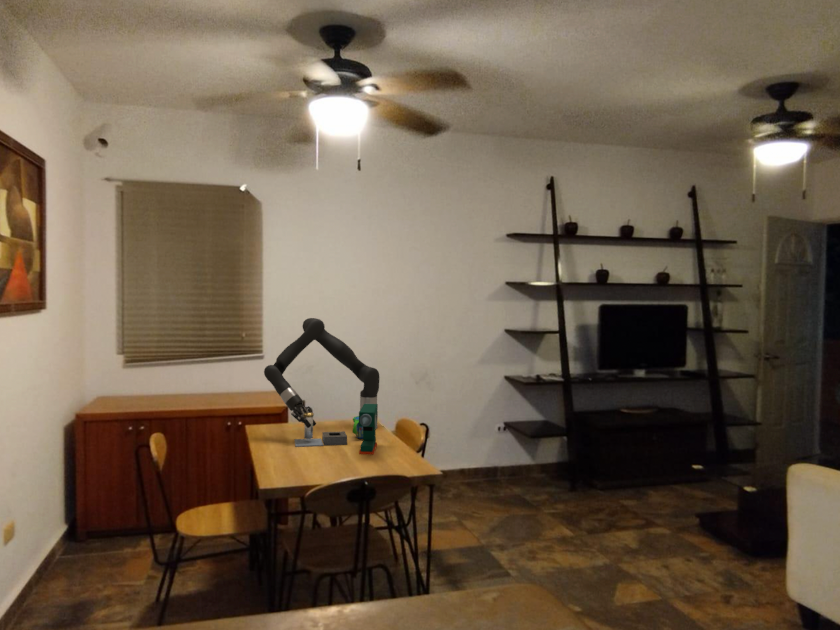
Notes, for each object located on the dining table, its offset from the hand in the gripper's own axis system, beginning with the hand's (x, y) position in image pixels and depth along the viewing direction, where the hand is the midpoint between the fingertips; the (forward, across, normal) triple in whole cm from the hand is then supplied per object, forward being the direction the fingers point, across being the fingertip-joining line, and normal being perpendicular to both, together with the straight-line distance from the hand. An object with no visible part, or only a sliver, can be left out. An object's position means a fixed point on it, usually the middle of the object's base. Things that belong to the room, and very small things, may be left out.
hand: (312, 425), depth 301 cm
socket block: (+12, +7, 0) cm, 14 cm away
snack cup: (+18, +22, -5) cm, 29 cm away
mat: (+5, 0, +7) cm, 9 cm away
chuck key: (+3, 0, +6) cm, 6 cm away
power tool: (+29, -3, -16) cm, 33 cm away
